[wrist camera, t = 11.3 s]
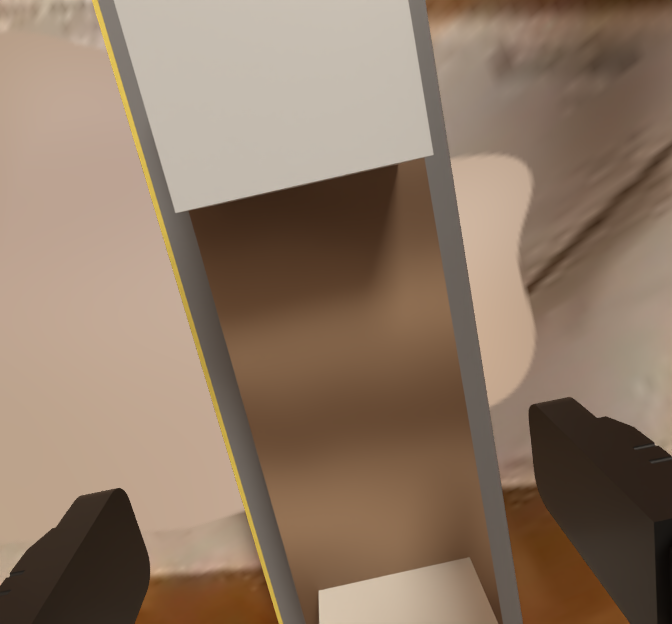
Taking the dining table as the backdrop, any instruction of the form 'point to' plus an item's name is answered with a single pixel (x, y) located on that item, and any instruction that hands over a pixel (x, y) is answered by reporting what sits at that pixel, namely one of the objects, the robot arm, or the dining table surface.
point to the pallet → (350, 376)
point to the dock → (218, 359)
